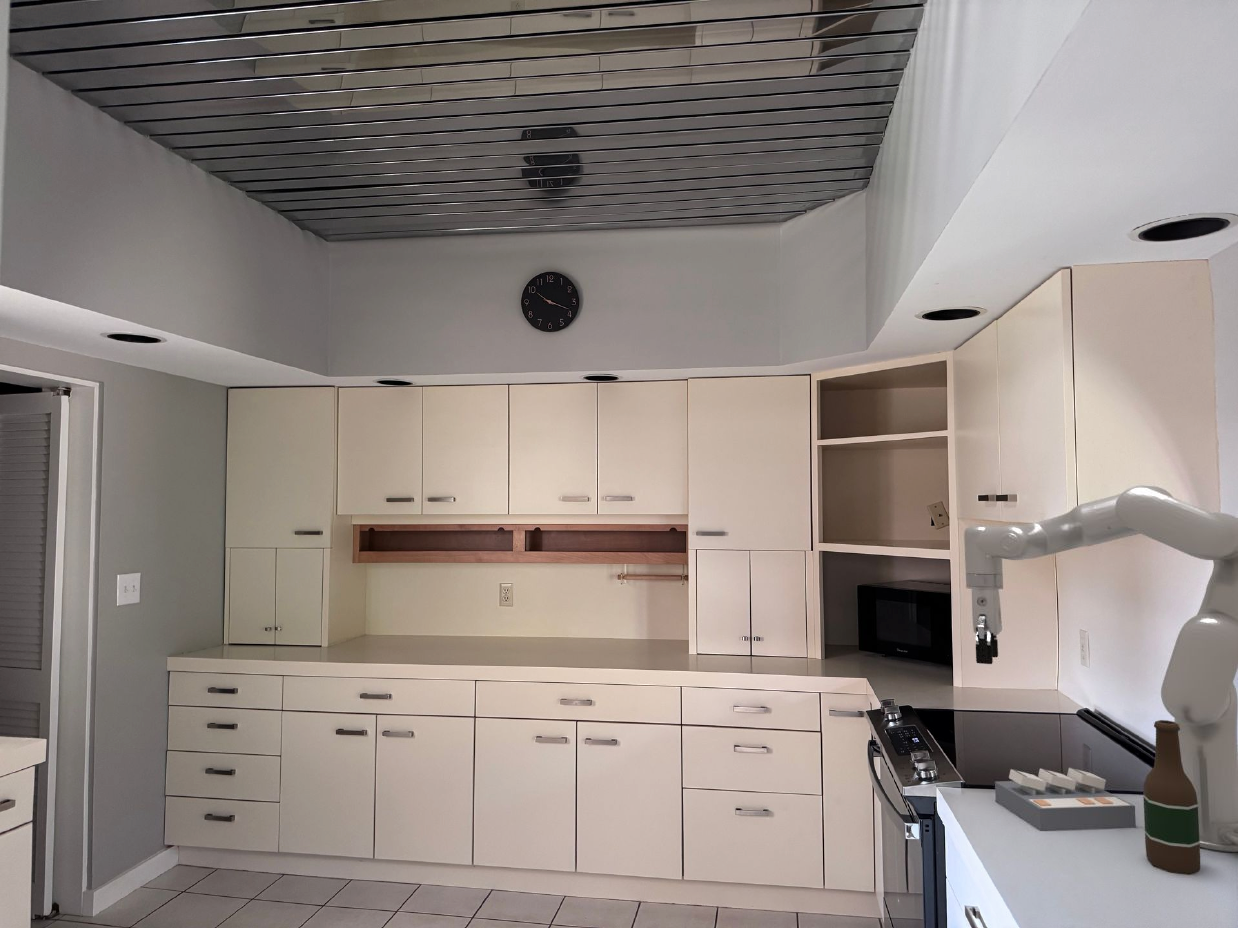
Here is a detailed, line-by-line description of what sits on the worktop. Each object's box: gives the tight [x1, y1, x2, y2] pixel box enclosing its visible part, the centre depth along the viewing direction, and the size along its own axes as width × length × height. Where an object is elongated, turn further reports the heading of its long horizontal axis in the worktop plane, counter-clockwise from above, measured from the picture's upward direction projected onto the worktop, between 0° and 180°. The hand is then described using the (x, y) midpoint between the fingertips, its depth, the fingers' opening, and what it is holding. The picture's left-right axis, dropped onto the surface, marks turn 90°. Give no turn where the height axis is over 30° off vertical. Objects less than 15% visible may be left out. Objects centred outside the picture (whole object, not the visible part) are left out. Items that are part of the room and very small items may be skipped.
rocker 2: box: [1066, 767, 1106, 790], centre depth 166 cm, size 4×5×2 cm
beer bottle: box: [1143, 719, 1201, 875], centre depth 140 cm, size 8×8×24 cm
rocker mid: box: [1037, 768, 1076, 790], centre depth 165 cm, size 4×5×2 cm
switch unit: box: [994, 780, 1137, 831], centre depth 164 cm, size 16×19×5 cm
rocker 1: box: [1008, 769, 1046, 791], centre depth 165 cm, size 4×5×2 cm
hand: (987, 659), depth 180 cm, fingers open, 9 cm apart
